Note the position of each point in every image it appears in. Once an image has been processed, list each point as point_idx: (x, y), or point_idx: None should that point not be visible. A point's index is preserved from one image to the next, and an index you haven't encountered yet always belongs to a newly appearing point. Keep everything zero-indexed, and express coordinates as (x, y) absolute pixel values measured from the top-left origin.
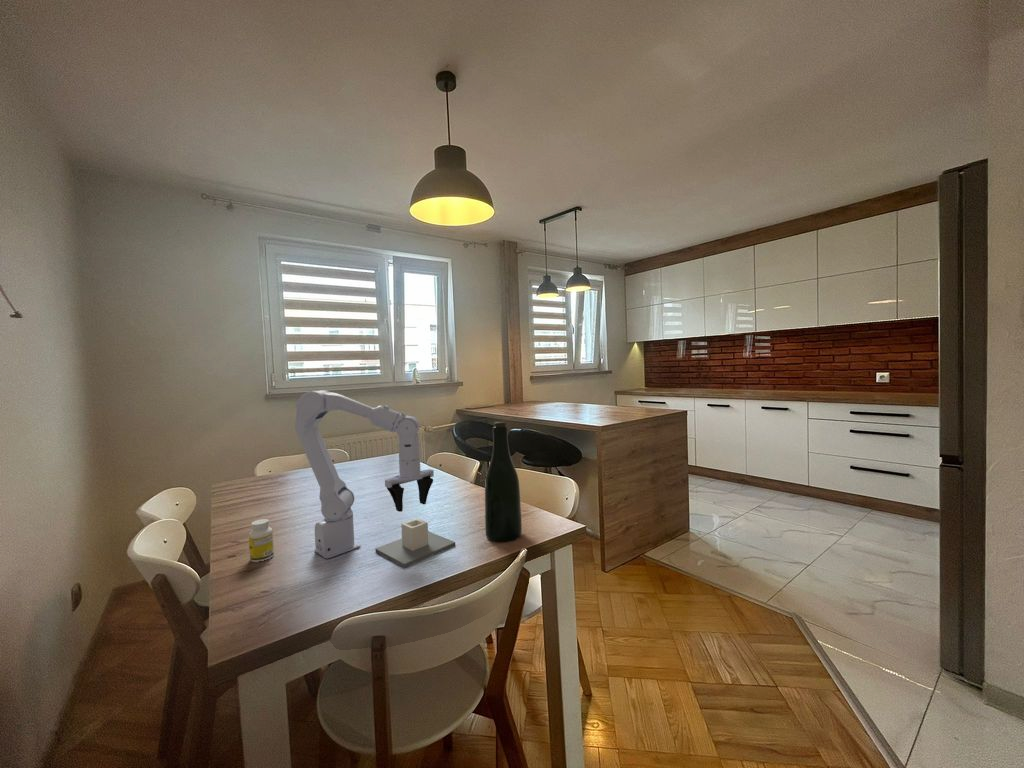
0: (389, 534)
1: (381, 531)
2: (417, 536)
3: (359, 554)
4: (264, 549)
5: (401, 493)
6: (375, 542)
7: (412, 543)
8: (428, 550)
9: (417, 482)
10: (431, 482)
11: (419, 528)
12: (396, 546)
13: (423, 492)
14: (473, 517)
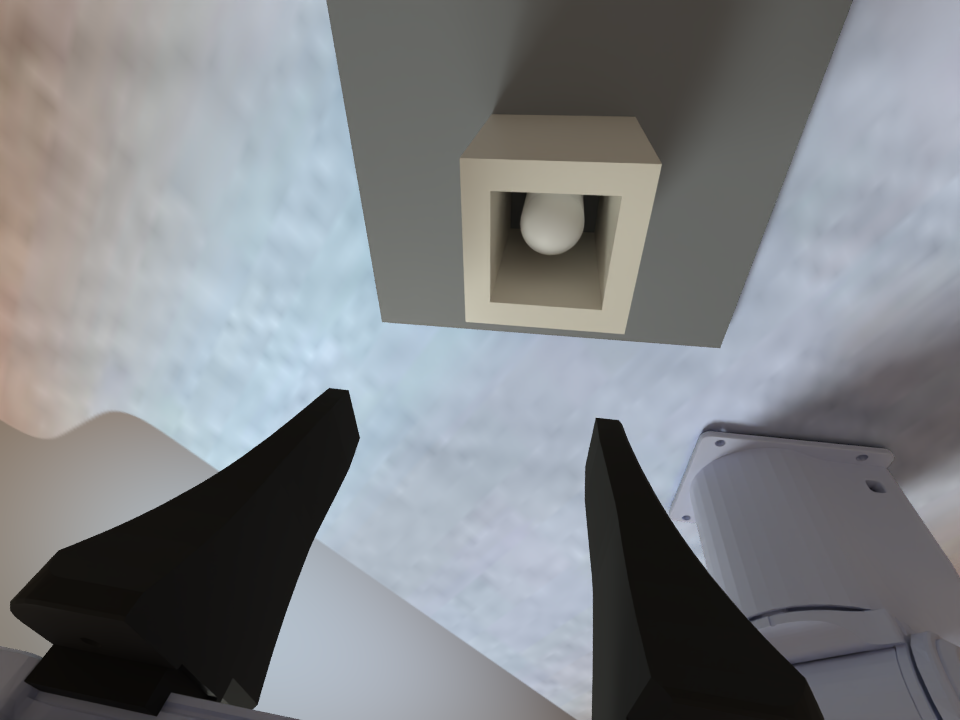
0: (521, 431)
1: (523, 474)
2: (589, 138)
3: (774, 377)
4: None
5: (663, 602)
6: (622, 417)
7: (641, 128)
8: (562, 3)
9: (269, 654)
10: (87, 555)
11: (565, 152)
12: (638, 272)
13: (287, 493)
14: (73, 259)
